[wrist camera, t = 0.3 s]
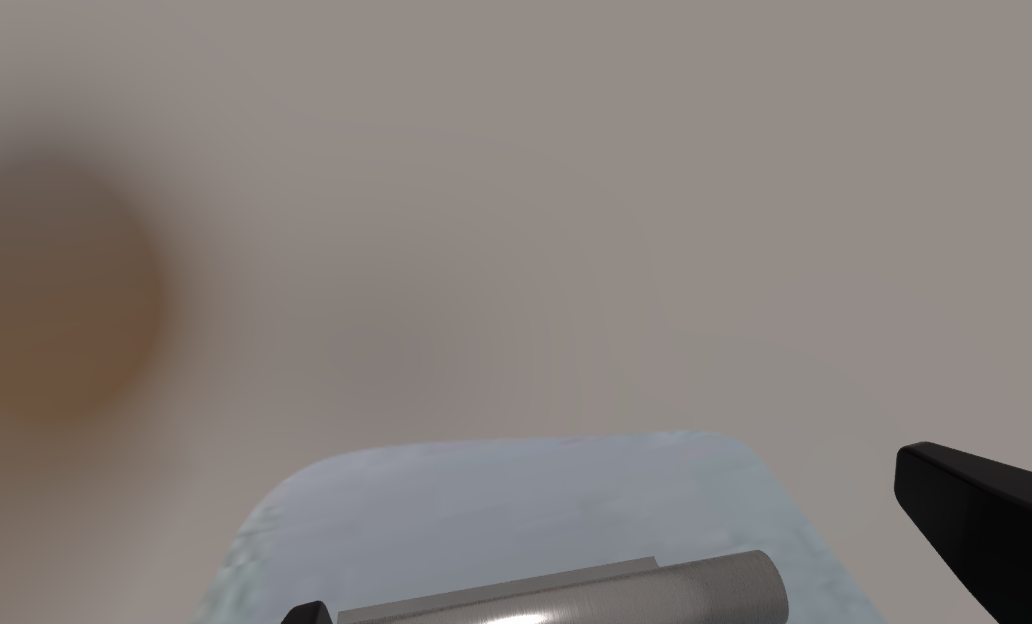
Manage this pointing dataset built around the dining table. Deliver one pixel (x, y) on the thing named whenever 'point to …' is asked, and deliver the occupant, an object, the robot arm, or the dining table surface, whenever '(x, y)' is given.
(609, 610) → the bracket
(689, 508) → the dining table surface
